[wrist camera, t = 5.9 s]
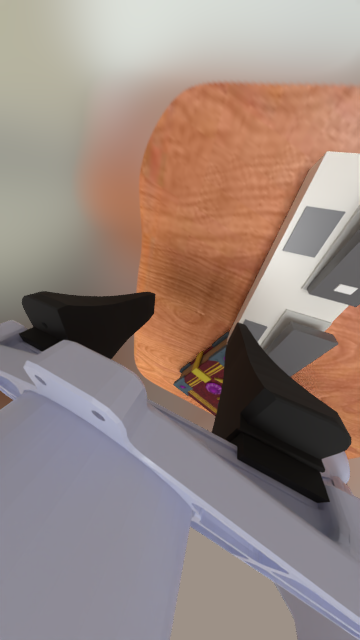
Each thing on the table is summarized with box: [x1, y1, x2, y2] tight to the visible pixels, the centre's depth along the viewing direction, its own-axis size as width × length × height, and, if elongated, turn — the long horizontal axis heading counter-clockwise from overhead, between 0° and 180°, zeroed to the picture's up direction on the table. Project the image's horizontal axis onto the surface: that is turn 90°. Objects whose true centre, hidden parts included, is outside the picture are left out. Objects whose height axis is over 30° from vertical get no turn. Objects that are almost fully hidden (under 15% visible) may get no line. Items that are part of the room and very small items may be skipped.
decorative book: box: [173, 332, 229, 416], centre depth 25 cm, size 11×16×5 cm
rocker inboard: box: [265, 322, 338, 376], centre depth 15 cm, size 4×8×1 cm, turn 169°
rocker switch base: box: [226, 151, 360, 351], centre depth 15 cm, size 8×20×3 cm, turn 169°
